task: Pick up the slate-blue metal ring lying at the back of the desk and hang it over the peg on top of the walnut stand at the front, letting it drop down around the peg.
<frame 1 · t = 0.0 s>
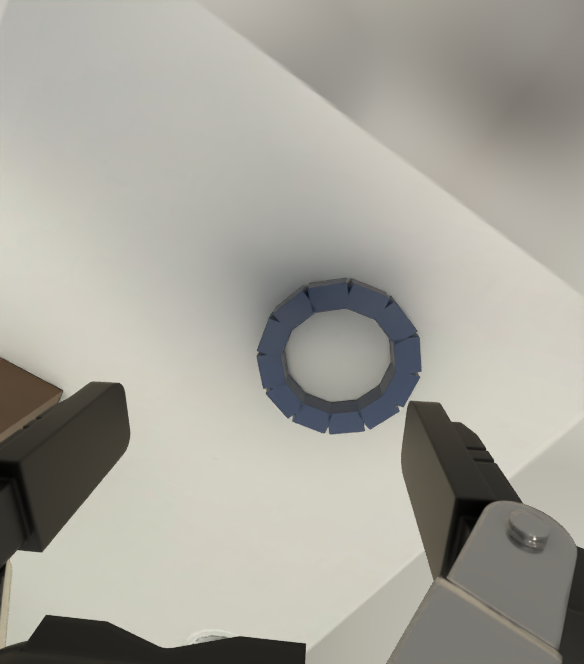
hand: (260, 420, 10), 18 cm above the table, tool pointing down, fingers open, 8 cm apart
ring: (337, 354, 28), on the table
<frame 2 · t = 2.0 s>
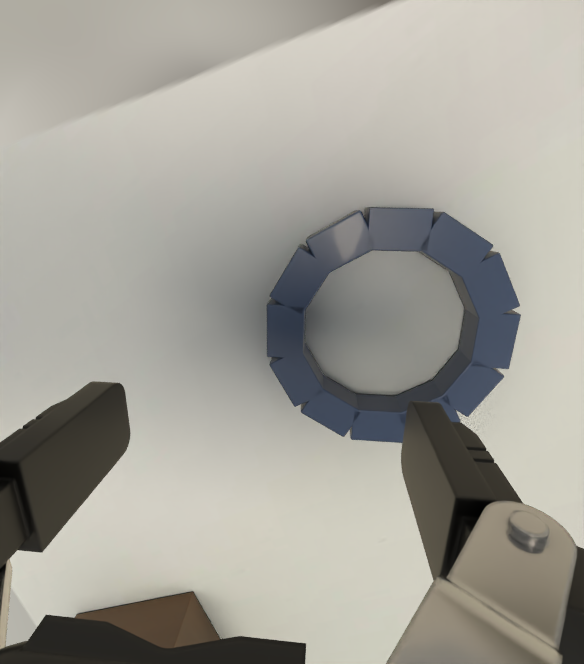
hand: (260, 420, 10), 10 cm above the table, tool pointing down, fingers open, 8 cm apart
ring: (382, 325, 19), on the table
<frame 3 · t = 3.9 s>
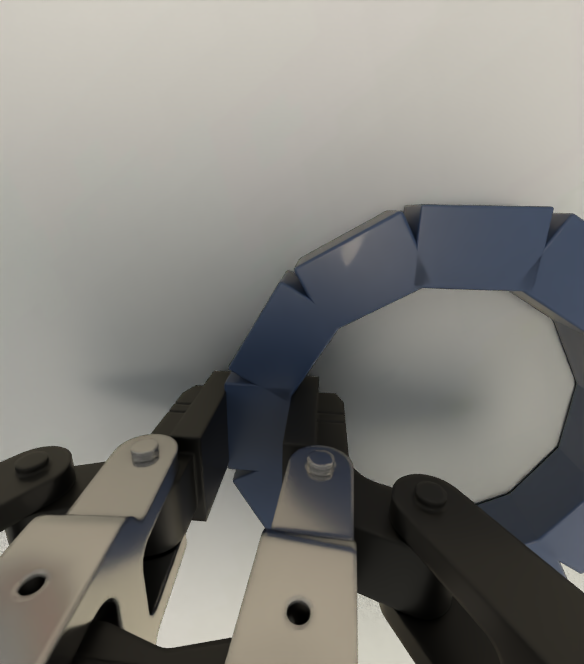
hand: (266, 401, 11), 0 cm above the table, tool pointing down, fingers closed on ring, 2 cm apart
ring: (427, 407, 11), on the table, touching gripper
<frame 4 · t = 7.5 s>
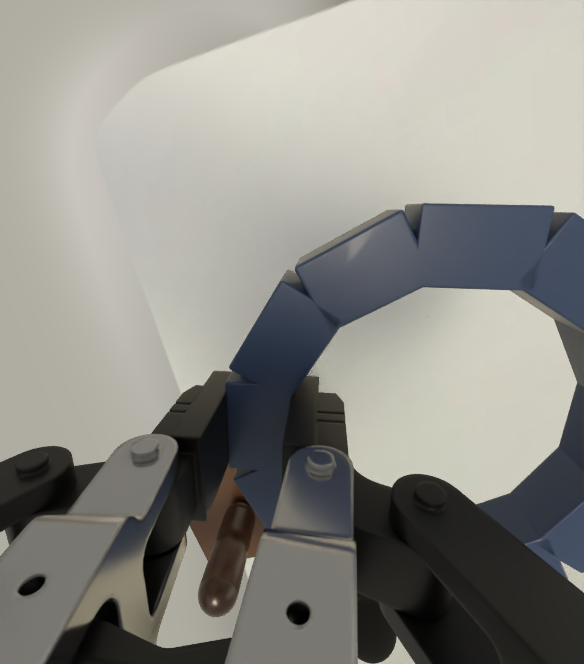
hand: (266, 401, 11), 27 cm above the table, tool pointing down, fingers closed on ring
stand: (242, 507, 29), on the table
ring: (428, 406, 11), point 26 cm above the table, touching gripper
light bulb: (363, 568, 48), on the table
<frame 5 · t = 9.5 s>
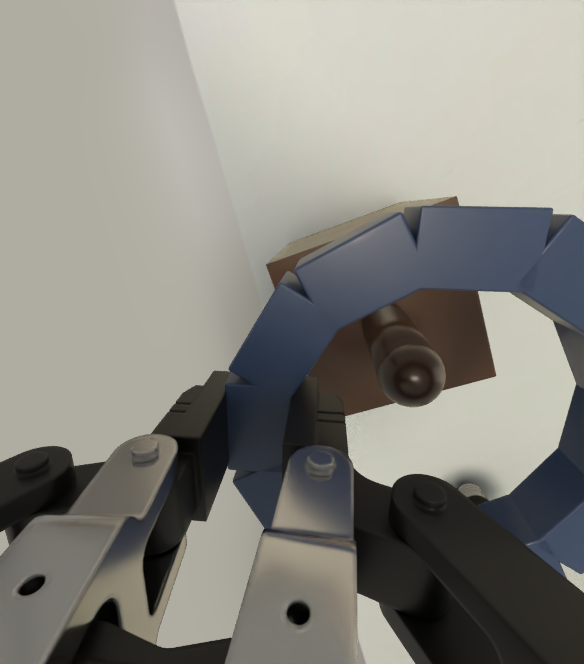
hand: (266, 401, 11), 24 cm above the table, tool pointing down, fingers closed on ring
stand: (383, 321, 20), on the table
ring: (427, 408, 11), point 23 cm above the table, touching gripper
light bulb: (464, 485, 39), on the table
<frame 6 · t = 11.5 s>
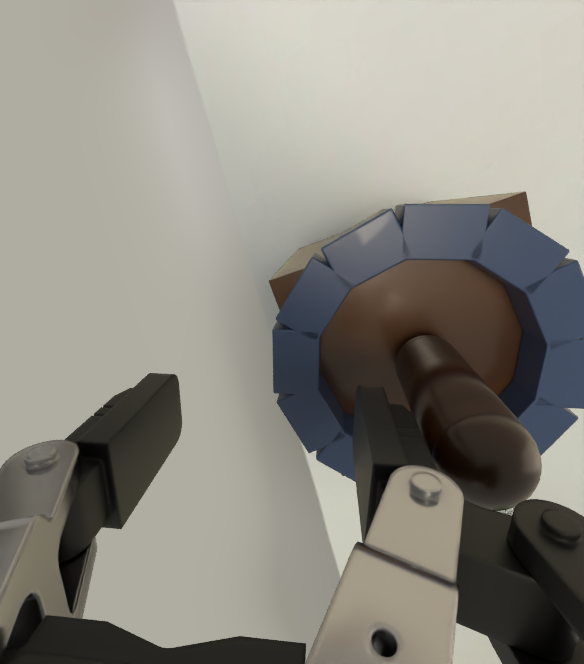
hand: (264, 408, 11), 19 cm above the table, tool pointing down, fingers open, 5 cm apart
stand: (420, 354, 15), on the table
ring: (416, 351, 15), point 14 cm above the table, touching stand
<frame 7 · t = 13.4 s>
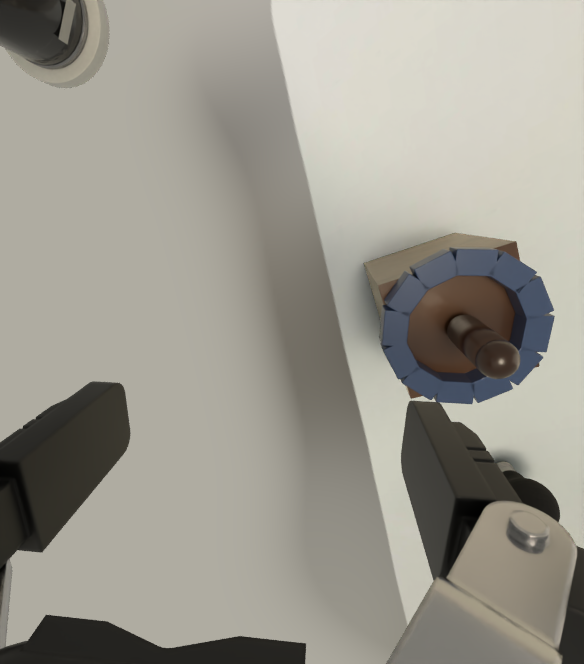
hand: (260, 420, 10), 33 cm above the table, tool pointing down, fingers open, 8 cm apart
stand: (459, 326, 28), on the table
ring: (457, 324, 28), point 14 cm above the table, touching stand
light bulb: (498, 464, 47), on the table
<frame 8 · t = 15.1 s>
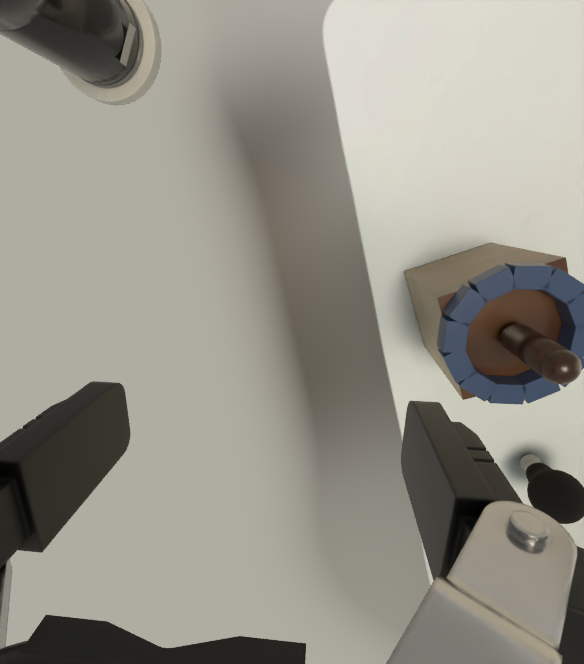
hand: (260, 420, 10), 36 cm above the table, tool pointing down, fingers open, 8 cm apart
stand: (510, 333, 31), on the table
ring: (509, 332, 31), point 14 cm above the table, touching stand
light bulb: (525, 457, 51), on the table
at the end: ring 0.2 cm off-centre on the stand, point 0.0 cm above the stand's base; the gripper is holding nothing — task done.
